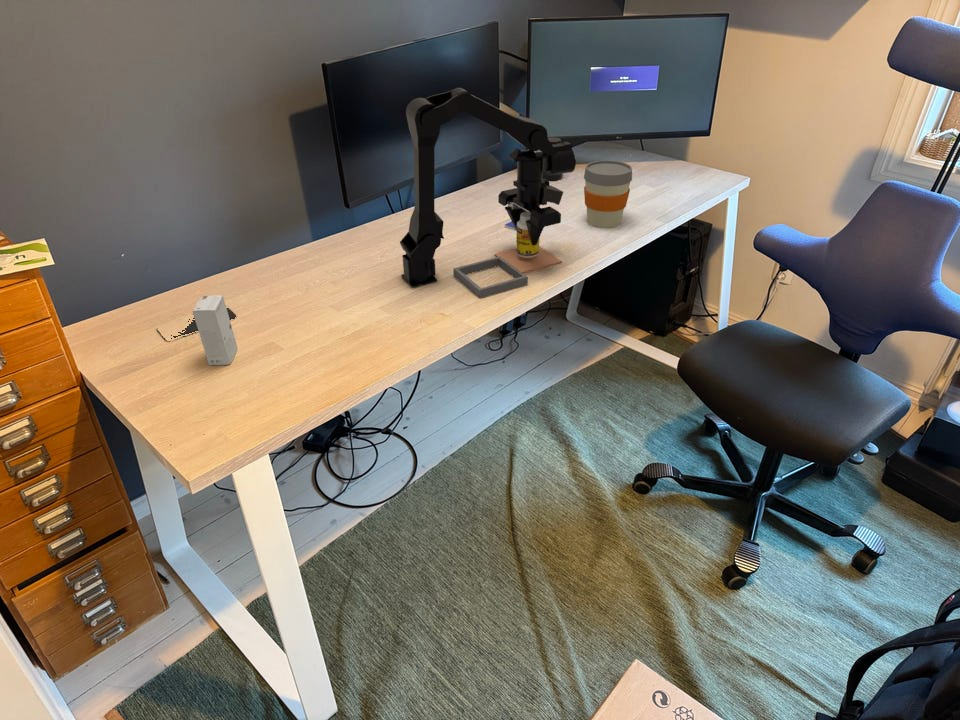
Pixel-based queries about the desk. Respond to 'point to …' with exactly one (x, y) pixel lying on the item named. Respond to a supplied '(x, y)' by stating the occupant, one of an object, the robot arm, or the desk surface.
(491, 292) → the square frame
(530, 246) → the supplement bottle
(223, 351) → the skincare box
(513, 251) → the pad
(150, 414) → the desk surface
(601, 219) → the reusable coffee cup
